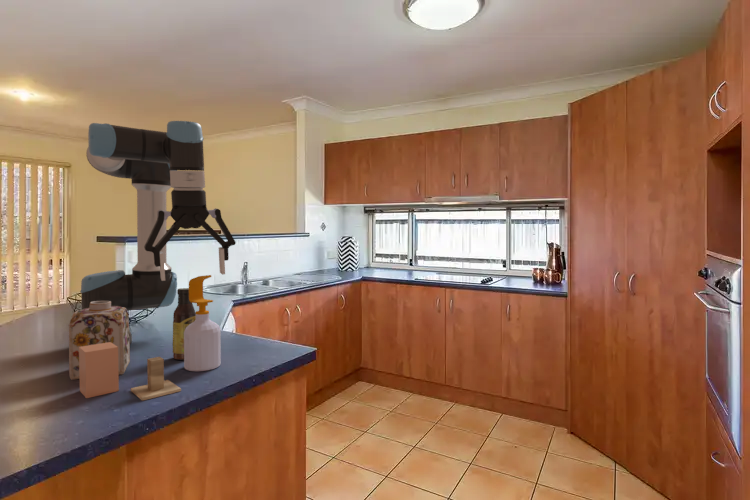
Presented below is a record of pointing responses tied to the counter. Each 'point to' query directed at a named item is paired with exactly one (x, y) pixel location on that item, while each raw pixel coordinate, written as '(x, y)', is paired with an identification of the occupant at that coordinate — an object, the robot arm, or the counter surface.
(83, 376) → the peach block
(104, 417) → the counter surface
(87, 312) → the decorative jar
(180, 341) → the sauce bottle
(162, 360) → the post
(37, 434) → the counter surface
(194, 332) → the soap bottle
